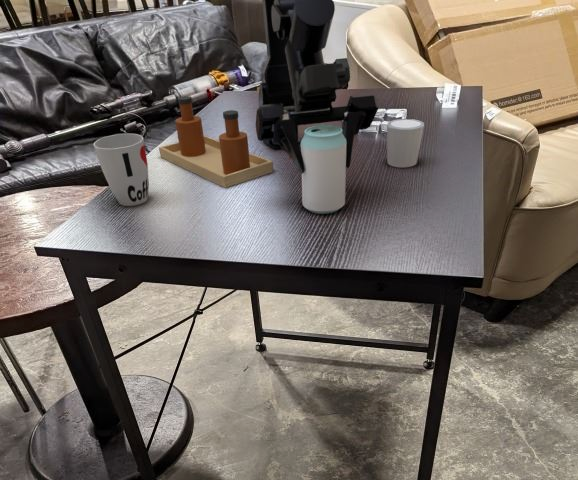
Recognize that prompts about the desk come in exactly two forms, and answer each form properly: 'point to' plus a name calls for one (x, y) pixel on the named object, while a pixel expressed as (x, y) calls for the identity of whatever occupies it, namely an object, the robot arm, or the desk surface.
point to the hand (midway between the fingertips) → (325, 169)
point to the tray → (216, 164)
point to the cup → (124, 167)
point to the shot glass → (403, 142)
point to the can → (323, 168)
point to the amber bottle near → (233, 145)
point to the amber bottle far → (189, 130)
